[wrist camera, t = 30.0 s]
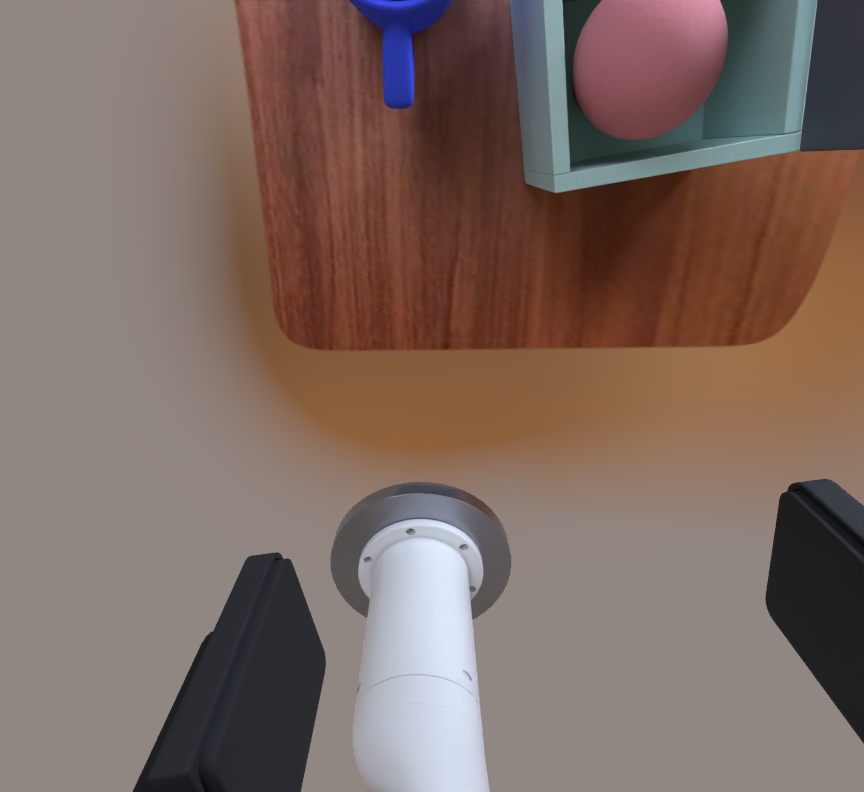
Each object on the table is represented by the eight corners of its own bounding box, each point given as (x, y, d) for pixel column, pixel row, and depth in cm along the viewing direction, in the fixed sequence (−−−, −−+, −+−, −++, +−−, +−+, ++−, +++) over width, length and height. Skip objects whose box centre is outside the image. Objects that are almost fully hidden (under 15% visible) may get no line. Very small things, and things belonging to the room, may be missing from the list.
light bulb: (592, -13, 32) (677, -101, 21) (676, 65, 33) (795, 22, 22) (519, 98, 34) (561, 72, 23) (601, 165, 36) (675, 170, 25)
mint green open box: (524, 183, 37) (555, 193, 28) (509, 0, 33) (539, -59, 24) (708, 151, 36) (799, 150, 27) (718, -43, 32) (832, -120, 23)
